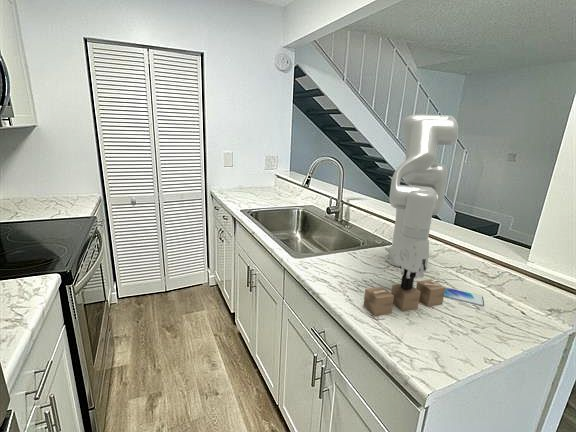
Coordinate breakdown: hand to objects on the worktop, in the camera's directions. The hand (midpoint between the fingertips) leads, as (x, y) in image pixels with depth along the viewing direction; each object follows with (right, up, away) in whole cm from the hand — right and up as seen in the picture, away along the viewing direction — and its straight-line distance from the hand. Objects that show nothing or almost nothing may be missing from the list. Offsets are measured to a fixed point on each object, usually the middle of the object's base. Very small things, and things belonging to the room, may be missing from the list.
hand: (406, 287), depth 99 cm
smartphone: (+21, -5, +10) cm, 24 cm away
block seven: (+9, -5, +5) cm, 12 cm away
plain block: (0, -6, +2) cm, 6 cm away
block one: (-10, -6, -2) cm, 12 cm away
